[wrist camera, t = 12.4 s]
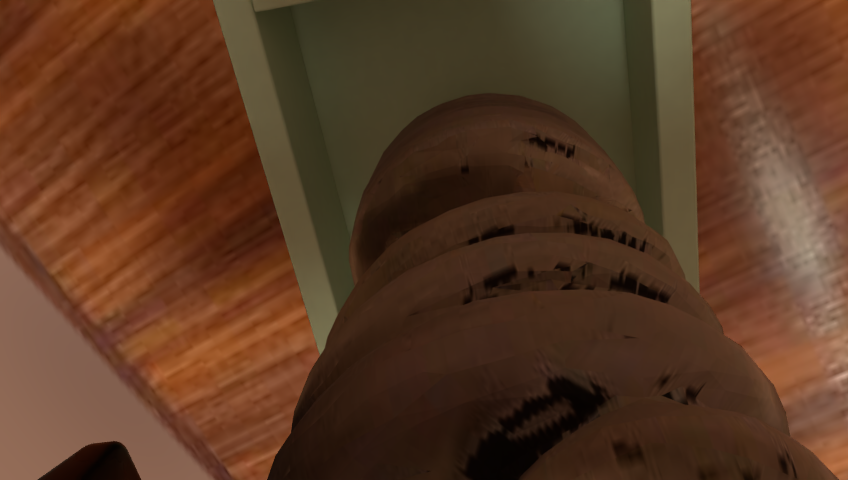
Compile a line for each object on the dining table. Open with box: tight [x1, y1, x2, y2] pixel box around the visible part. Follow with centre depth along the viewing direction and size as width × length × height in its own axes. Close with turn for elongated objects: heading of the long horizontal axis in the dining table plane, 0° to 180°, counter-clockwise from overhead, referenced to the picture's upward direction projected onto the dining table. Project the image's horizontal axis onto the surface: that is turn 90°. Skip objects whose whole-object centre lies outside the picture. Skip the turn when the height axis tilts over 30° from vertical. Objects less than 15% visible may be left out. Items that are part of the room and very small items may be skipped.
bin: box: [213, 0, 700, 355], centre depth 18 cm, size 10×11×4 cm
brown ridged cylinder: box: [267, 93, 839, 480], centre depth 12 cm, size 6×6×15 cm
